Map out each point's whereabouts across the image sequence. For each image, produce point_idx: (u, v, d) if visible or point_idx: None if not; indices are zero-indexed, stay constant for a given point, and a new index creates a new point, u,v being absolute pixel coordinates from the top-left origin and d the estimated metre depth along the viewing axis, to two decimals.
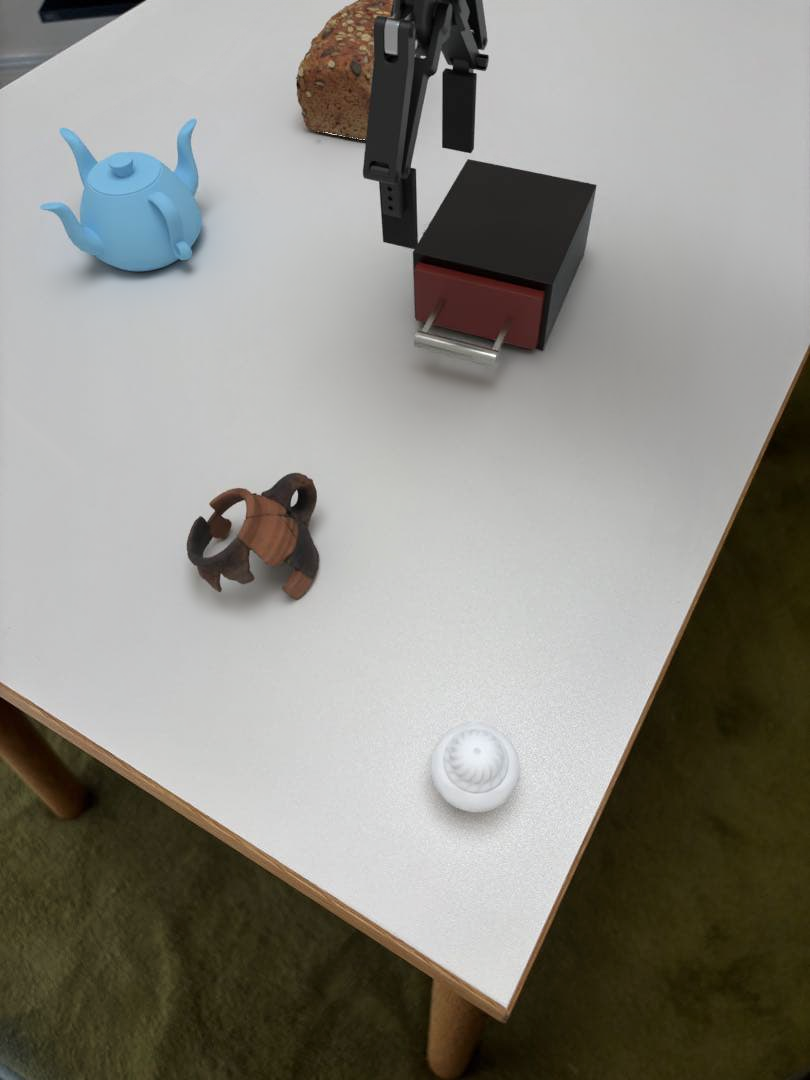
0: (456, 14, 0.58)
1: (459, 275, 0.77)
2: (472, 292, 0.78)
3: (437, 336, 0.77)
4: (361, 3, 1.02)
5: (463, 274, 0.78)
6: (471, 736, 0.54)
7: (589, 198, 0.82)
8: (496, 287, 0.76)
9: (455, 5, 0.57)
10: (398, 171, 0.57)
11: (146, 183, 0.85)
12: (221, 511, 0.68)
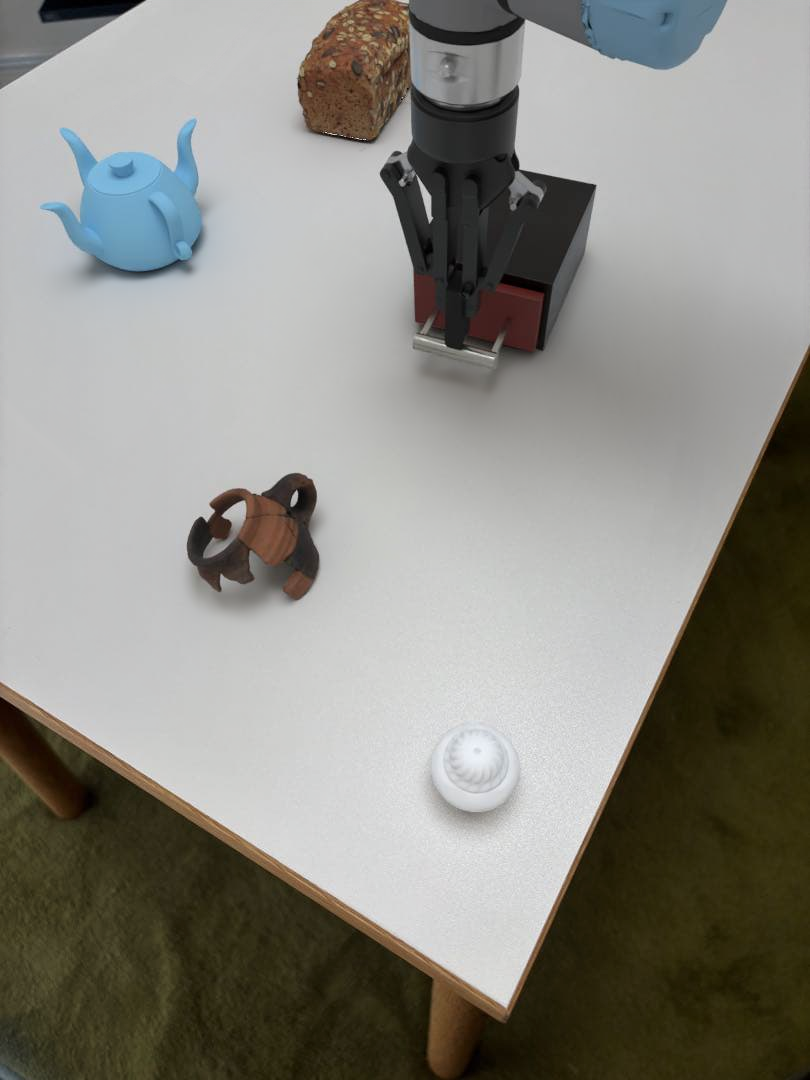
0: None
1: None
2: None
3: (436, 338, 0.77)
4: (362, 3, 1.02)
5: None
6: (471, 736, 0.54)
7: (589, 198, 0.82)
8: None
9: None
10: None
11: (146, 183, 0.85)
12: (222, 512, 0.68)
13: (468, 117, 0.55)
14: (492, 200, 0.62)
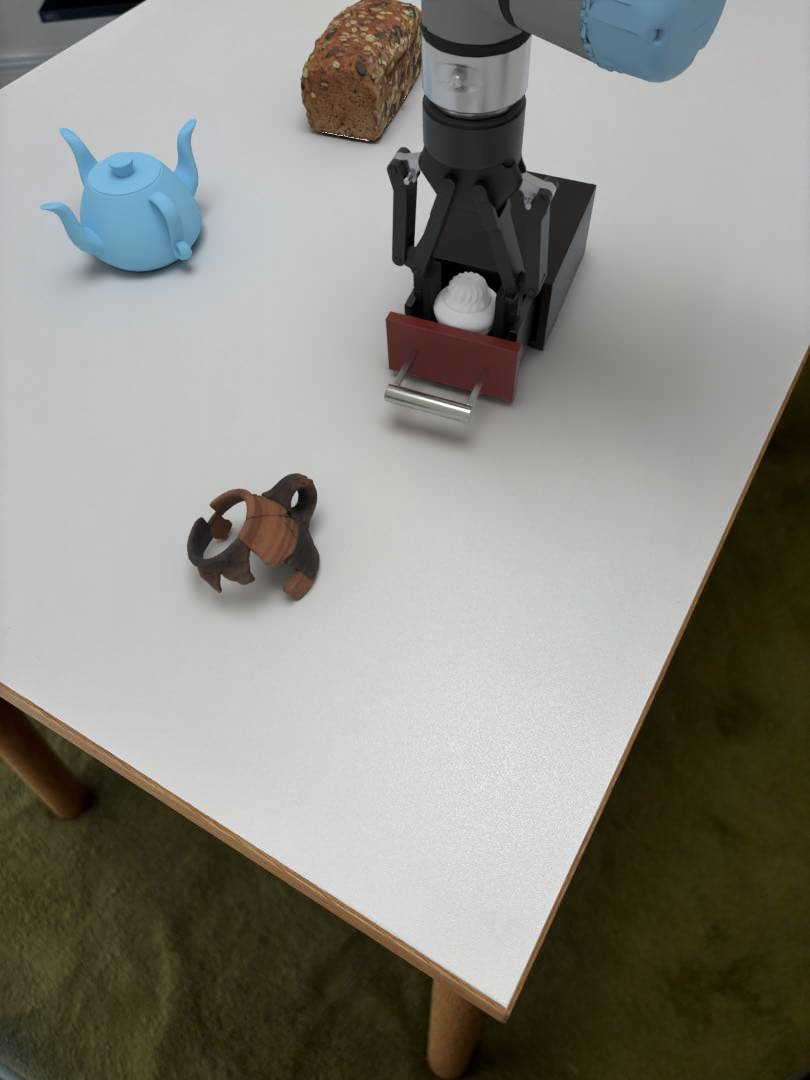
0: None
1: (432, 326, 0.74)
2: (446, 344, 0.74)
3: (409, 390, 0.73)
4: (363, 3, 1.02)
5: (436, 324, 0.74)
6: (464, 273, 0.74)
7: (589, 198, 0.82)
8: (470, 339, 0.73)
9: None
10: None
11: (146, 183, 0.85)
12: (222, 512, 0.68)
13: (477, 125, 0.57)
14: (500, 204, 0.64)
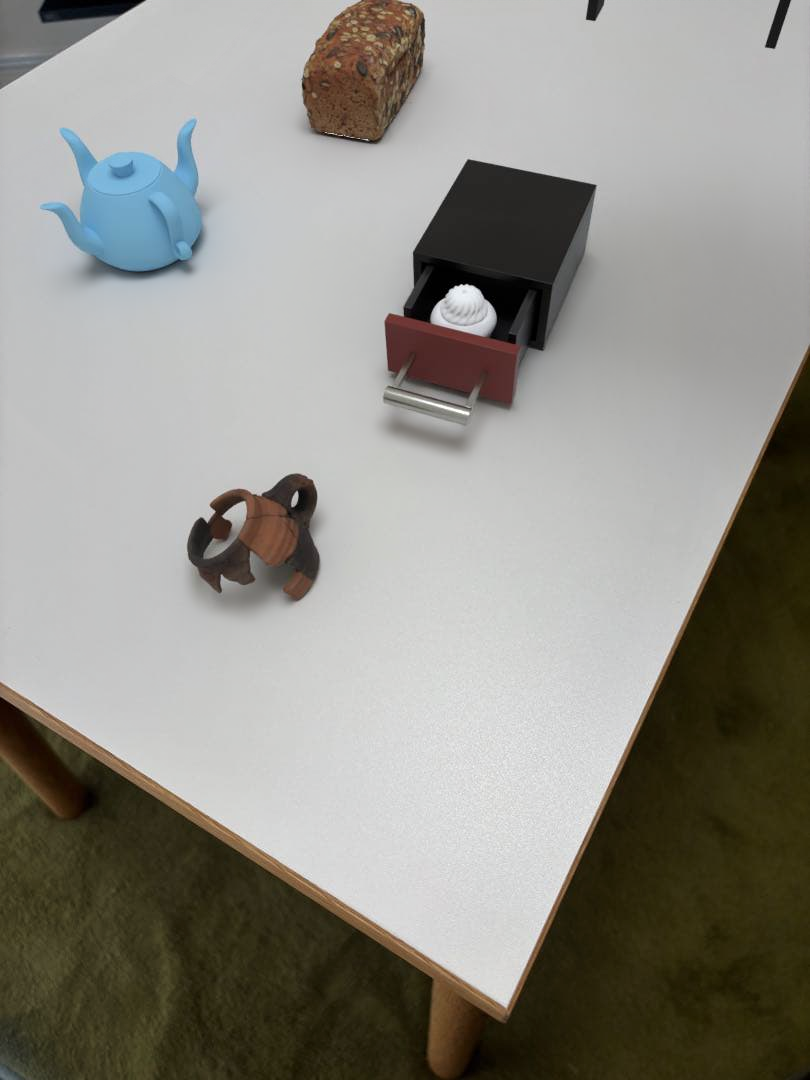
0: None
1: (431, 328, 0.74)
2: (445, 346, 0.74)
3: (408, 392, 0.73)
4: (364, 3, 1.02)
5: (435, 326, 0.74)
6: (459, 286, 0.75)
7: (589, 198, 0.82)
8: (469, 341, 0.73)
9: None
10: None
11: (146, 183, 0.85)
12: (222, 512, 0.68)
13: None
14: None
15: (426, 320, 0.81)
